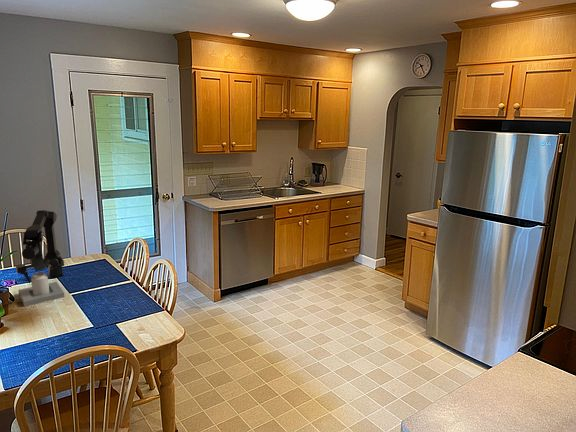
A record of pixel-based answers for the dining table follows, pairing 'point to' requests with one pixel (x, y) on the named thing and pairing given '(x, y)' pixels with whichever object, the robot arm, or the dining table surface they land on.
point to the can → (40, 283)
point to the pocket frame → (53, 294)
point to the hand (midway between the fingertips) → (39, 280)
